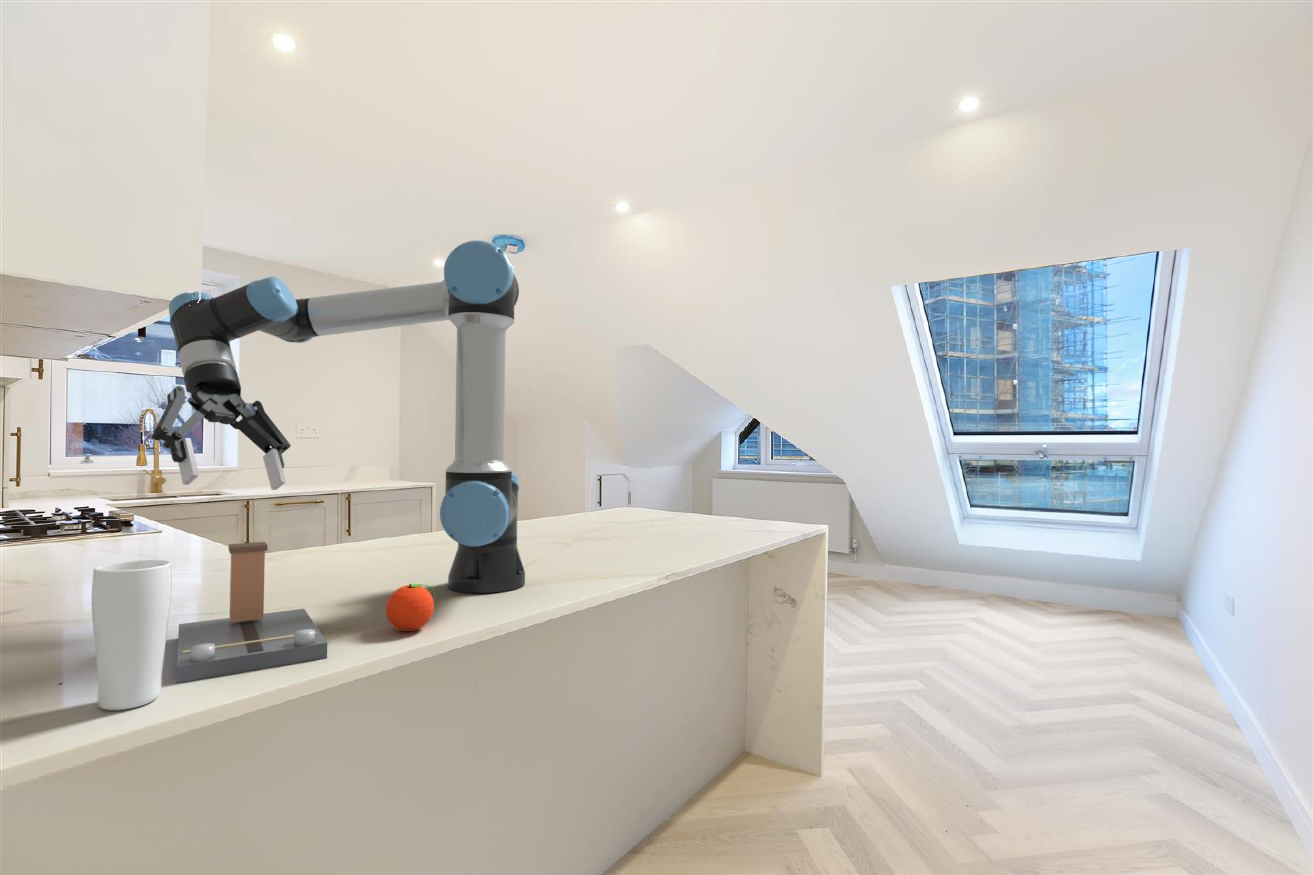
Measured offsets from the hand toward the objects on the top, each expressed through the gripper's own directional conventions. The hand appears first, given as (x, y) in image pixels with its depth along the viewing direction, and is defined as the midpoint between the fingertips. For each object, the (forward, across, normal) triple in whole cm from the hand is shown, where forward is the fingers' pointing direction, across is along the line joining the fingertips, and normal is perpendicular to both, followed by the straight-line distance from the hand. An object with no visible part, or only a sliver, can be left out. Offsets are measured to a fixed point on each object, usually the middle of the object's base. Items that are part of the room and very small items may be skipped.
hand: (237, 483), depth 100 cm
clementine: (+32, -13, +11) cm, 36 cm away
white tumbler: (+32, +21, +4) cm, 38 cm away
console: (+26, +4, -1) cm, 27 cm away
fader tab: (+21, +1, -4) cm, 21 cm away
